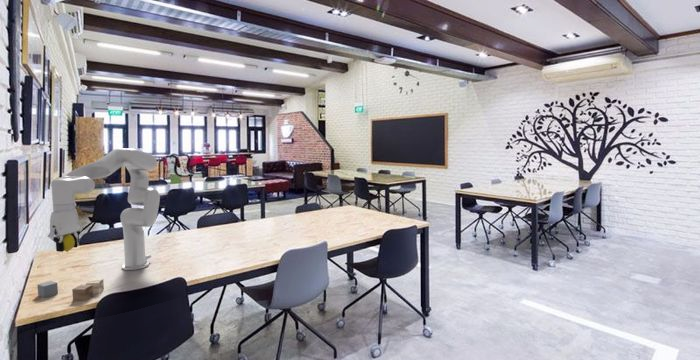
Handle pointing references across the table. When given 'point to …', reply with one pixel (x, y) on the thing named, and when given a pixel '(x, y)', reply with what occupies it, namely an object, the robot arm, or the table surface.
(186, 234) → the table surface
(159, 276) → the table surface
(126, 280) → the table surface
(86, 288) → the walnut cube
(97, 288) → the maple cube
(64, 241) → the lemon
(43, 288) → the blue-grey cube
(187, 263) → the table surface
